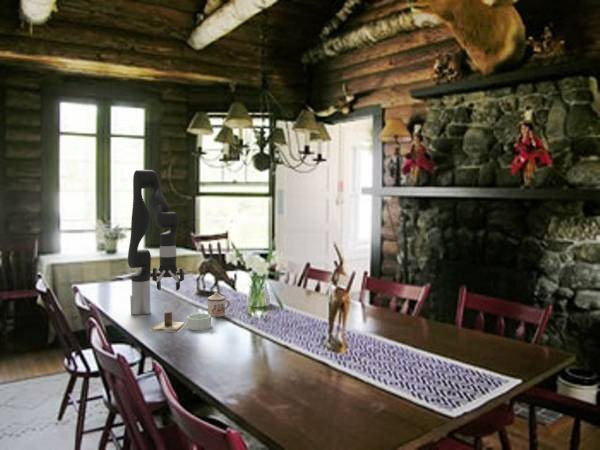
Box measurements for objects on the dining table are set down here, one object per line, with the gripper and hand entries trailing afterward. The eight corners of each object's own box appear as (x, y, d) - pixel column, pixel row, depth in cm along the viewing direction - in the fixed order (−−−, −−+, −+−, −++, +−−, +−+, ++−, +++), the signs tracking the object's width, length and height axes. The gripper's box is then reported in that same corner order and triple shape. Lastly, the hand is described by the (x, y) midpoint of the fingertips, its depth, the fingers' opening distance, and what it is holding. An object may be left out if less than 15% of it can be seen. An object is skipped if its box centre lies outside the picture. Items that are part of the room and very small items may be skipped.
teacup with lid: (212, 318, 261) (211, 295, 260) (204, 314, 268) (204, 292, 267) (233, 314, 267) (233, 292, 266) (225, 311, 275) (225, 289, 274)
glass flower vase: (242, 305, 288) (242, 273, 286) (254, 300, 299) (254, 270, 298) (261, 308, 282) (261, 275, 281) (274, 303, 293) (274, 272, 292)
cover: (151, 330, 236) (151, 315, 236) (160, 323, 248) (159, 309, 248) (177, 331, 236) (176, 316, 235) (184, 324, 248) (184, 309, 247)
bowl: (184, 330, 238) (184, 319, 238) (190, 324, 249) (190, 313, 248) (207, 331, 237) (207, 319, 237) (213, 324, 248) (212, 313, 248)
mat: (148, 332, 236) (148, 331, 235) (158, 323, 249) (158, 322, 249) (178, 333, 235) (178, 331, 235) (187, 324, 249) (187, 323, 249)
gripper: (150, 256, 236) (150, 291, 237) (180, 256, 235) (181, 291, 237) (155, 254, 244) (156, 288, 245) (185, 254, 243) (185, 288, 244)
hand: (168, 289), depth 241 cm, fingers open, 8 cm apart
